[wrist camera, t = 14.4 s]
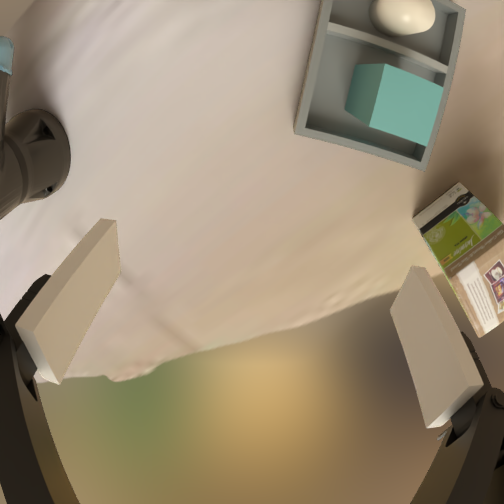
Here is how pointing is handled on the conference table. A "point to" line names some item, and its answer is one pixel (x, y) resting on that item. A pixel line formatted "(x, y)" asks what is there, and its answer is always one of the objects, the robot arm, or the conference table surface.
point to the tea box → (468, 253)
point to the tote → (373, 52)
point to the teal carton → (394, 101)
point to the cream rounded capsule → (402, 16)
